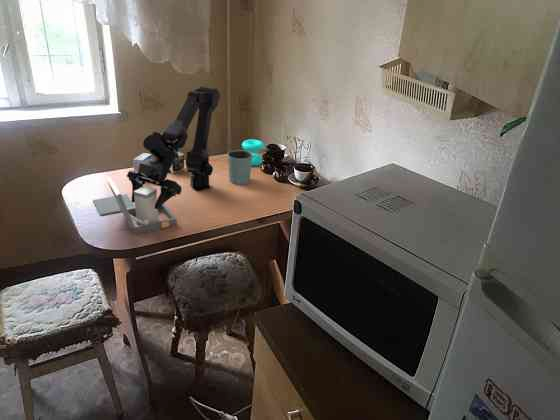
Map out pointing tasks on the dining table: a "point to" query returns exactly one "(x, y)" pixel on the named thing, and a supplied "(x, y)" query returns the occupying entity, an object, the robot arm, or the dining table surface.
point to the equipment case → (139, 228)
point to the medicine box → (142, 161)
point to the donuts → (254, 150)
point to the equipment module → (146, 204)
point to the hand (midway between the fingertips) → (144, 205)
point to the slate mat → (111, 204)
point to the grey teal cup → (239, 166)
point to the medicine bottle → (177, 162)
